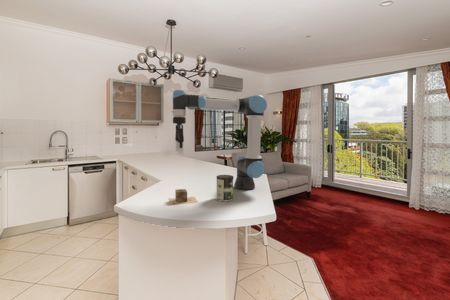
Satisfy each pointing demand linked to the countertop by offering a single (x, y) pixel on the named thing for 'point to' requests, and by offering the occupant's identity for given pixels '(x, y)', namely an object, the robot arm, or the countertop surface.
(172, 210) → the countertop surface
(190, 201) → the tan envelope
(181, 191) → the walnut block
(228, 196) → the coffee can
